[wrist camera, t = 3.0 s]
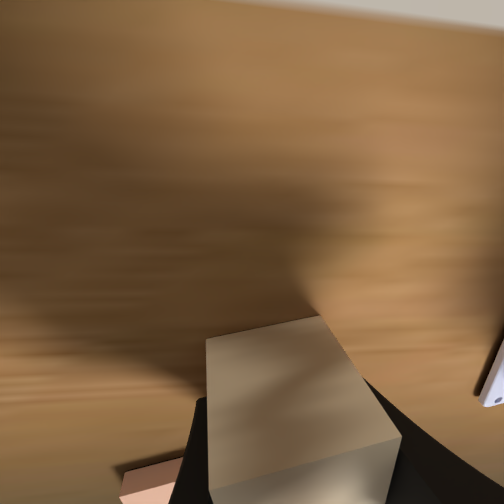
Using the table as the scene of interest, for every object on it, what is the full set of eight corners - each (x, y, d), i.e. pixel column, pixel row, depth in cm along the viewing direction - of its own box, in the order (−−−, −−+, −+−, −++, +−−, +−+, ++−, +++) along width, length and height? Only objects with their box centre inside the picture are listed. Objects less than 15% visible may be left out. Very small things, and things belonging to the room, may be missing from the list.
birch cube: (320, 315, 11) (402, 436, 7) (319, 391, 13) (380, 522, 9) (205, 338, 10) (208, 490, 6) (223, 414, 13) (236, 568, 8)
